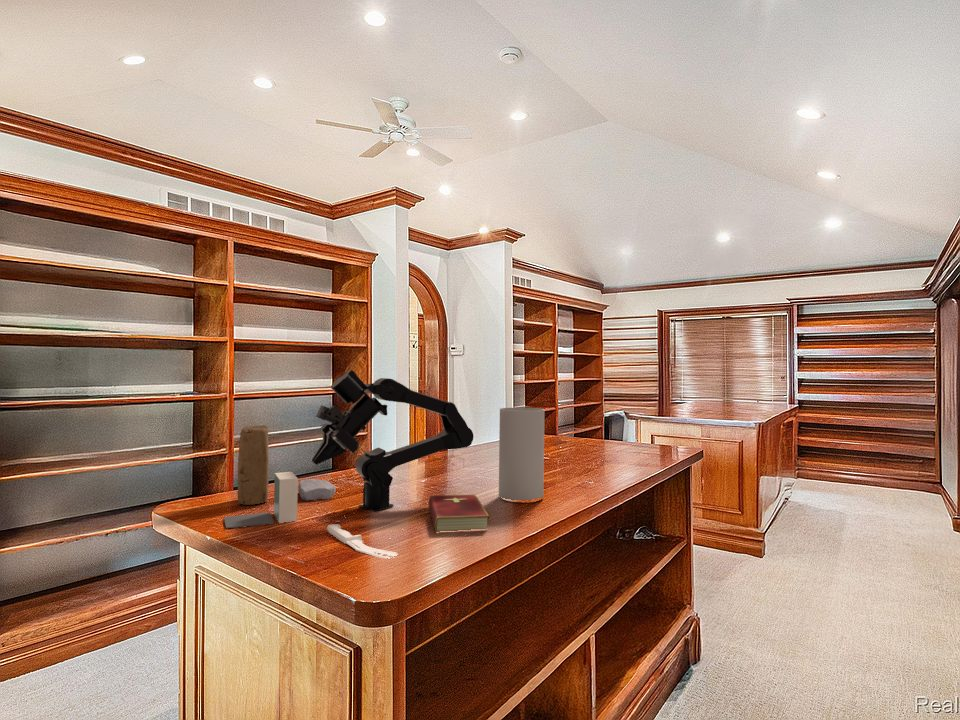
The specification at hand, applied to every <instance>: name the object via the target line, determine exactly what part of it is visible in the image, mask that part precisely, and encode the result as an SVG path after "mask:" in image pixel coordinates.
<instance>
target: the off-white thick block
mask: <svg viewBox="0 0 960 720" xmlns="http://www.w3.org/2000/svg"><path fill="white" fill-rule="evenodd" d="M298 484H299V478H298V477H297V476H296V475H295V474H294V473H293V471H284V472H274V491H273V493H274V495H273V496H274V497H273V498H274V499H273V501H274V502H273V514H275V515H274V517H275V516H276V517H275V519H276V518H277V519H276V520H278V521H277V523H278V522H279V523H278V524H283V523H284V522H286V523H293V522H292V521H295V522H298V494H299V493H298V490H299V485H298Z"/></svg>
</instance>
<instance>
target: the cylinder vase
mask: <svg viewBox="0 0 960 720" xmlns="http://www.w3.org/2000/svg"><path fill="white" fill-rule="evenodd" d="M498 442H499V445H498V447H499V448H498V497H499V496H500V497H502V498H505V499H511V500H532V499H537V498H541V497H543V498H544V496H545V495H544V492H545V491H544V486H545V485H544V484H545V482H544V481H545V480H544V479H545V477H544V476H545V475H544V474H545V473H544V472H545V409H544V408H537V407H501V408H499V440H498ZM543 495H544V496H543ZM500 497H499V498H500Z"/></svg>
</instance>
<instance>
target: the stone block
mask: <svg viewBox="0 0 960 720" xmlns="http://www.w3.org/2000/svg"><path fill="white" fill-rule="evenodd" d="M336 490H337V489H336V486H334V484H333V483H331V482H330V481H328V480H326V479H325V480H324V479H318V478H306V479H302V480H300V481H298V492H299V493H298V494H300V495H299V496H300V498H301V500H302V501H304V500H305V501H304V502H309V501H308V500H315V501H318V500H317V499H326V500H330V499H331V498H332V497H333V496H334V494H336Z"/></svg>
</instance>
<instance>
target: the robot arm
mask: <svg viewBox="0 0 960 720" xmlns="http://www.w3.org/2000/svg"><path fill="white" fill-rule="evenodd" d="M330 389H331V390H333V392H335V394H336V395H337V396H338V397H339V398H340V399H341V400H342V401H343V402H344V403H345V404H349V403H350V404H354V405H353V406H352V407H351V408H350V409H349V410H344V411H343V412H340V411H341V410H340V408H339V407H337V406H335V405H331V406H330V407H327V406H325V405H320V407H319V409H318V411H317V414H316V415H315V417H316V418H317V419H320V420H323V421H327V422H326V423H323V424H322V426H321V427H319V430H321V431H322V432H321V434H322V442H321V444H320V446H319V447H318V449H317V450H316V452H315V454H314V456H313V457H312V459H311V462H312V463H313V464H315V465H316V466H317V465H319V464H321V463H324V462H326V461H329V460H331V459H333V458H335V457H338V456H339V455H342V454H345V453H347V450H346V449H348V452H350V453H351V454H354V453H355V452H357V450H358V449H359V445H360V443H359V441H358V440H357V439H356V438H355V437H356V436H357V435H358V434H359V433H360V432H361V431H365V430H366V429H367V425H368V424H369V423H370V421H372V420H373V419H374V418H375V417H376V416H377V415H378V413H379V414H380V415H382V416H388V405H387V404H382V403H381V402H380V401H379V400H381V401H387V402H394V403H402V404H403V403H404V404H407V405H410V406H413V407H414V406H415V407H417V408H419V409H423V410H426V411H429V412H433V413H436V414H439V415H440V418H441V423H442V426H443V430H441V431H440V432H439V433H438V434H436V435H434V436H431V437H429V438H426V439H422V440H419V441H416V442H414V443H411V444H408V445H405V446H402V447H399V448H396V449H393V450H390V451H386V450H385V449H382V448H381V447H376V448H374V449H372V450H370V451H363V454H361V455H360V456H359V457H358V458H357V460H356V462H355V470H356V472H357V473H358V474H359V475H360V476H361V477H362V480H363V482H364V483H363V489H362V504H359V505H358V508H360V509H364V510H369V511H374V512H379V511H382V510H385V509H389V508H392V507H394V504H393V503H390V490H391V489H390V488H391V487H390V486H391V485H392V482H393V480H394V478H393V476H392V475H391V474H390V472H391V471H392V470H394V469H395V468H396V467H399V466H401V465H405V464H407V463H410V462H413V461H416V460H418V459H421V458H424V457H428V456H429V455H432V454H436V453H438V452H441V451H446V450H458V449H465V448H469V447H470V446H471V445H472V443H473V441H474V432H473V430H472V429H471V428H470V427H469V426H468V424H467V422H466V420H465V419H464V417H462V414H461V413H460V412H459V410H458V408H457V406H456V404H455V403H453V402H451V401H446V400H443V399H439V398H436V397H433V396H430V395H427V394H424V393H421V392H418V391H415V390H413V389H411V388H409V387H407V386H406V385H404V384H403V383H401V382H398V381H397V380H395V379H393V378H387V377H386V378H385V377H380V378H377V380H375V381H374V382H373V383H364V381H363V380H362V379H361V378H360V377H359V376H358V375H357V374H356V373H355V371H354V370H351V369H349V370H348V371H347V372H346V373H344V374H343V375H342V376H340V377H338V378H337V379H336V380H335V381H333V383H332V385H331V386H330ZM369 394H372V395H373V397H370V396H369Z"/></svg>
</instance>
